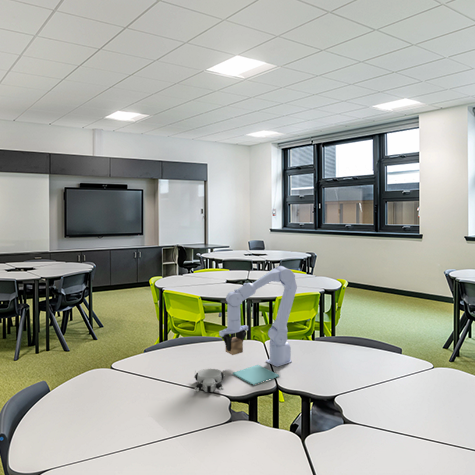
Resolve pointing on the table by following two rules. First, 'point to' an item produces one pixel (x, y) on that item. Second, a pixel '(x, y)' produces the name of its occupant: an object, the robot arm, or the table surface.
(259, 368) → the teal board
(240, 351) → the walnut cube
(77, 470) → the table surface
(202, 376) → the robot toy
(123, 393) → the table surface
